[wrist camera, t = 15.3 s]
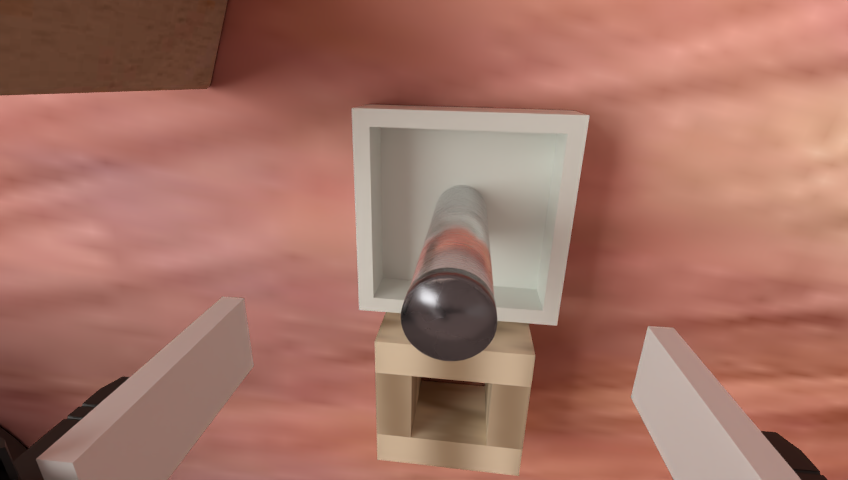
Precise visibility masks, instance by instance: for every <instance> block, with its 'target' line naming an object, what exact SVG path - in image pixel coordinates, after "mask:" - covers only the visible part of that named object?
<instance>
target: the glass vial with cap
mask: <svg viewBox="0 0 848 480" xmlns="http://www.w3.org/2000/svg"><path fill="white" fill-rule="evenodd" d="M401 325H402V329H403V331H404V334H405V336H406V337H407V339H408V340H409V342H410V343H411V344H412V345H413V346H414V347H415V348H416V349H417V350H418V351H420V352H421V353H423V354H425V355H427V356H429V357H431V358H434V359H438V360H442V361H460V360H465V359H468V358H471V357H473V356H476V355H477V354H479V353H481V352H482V351H483V350H484V349H485V348H486V347H487V346H488V345H489V344H490V343H491V341H492V339H493V338H494V336H495V333H496V329H497V309H496V302H495V298H494V289H493V277H492V265H491V253H490V241H489V229H488V217H487V206H486V202H485V200H484V198H483V196H482V195H481V194H480V193H479V192H478V191H477V190H476V189H474V188H472V187H469V186H464V185H458V186H453V187H451V188H449V189H447V190H446V191H444V192H443V193H442V194H441V196H440V197H439V199H438V201H437V204H436V207H435V210H434V213H433V216H432V219H431V223H430V226H429V229H428V232H427V235H426V238H425V241H424V244H423V248H422V251H421V254H420V257H419V260H418V263H417V266H416V269H415V273H414V276H413V279H412V282H411V285H410V288H409V289H408V291H407V294H406V296H405V299H404V302H403V306H402V310H401Z"/></svg>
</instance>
